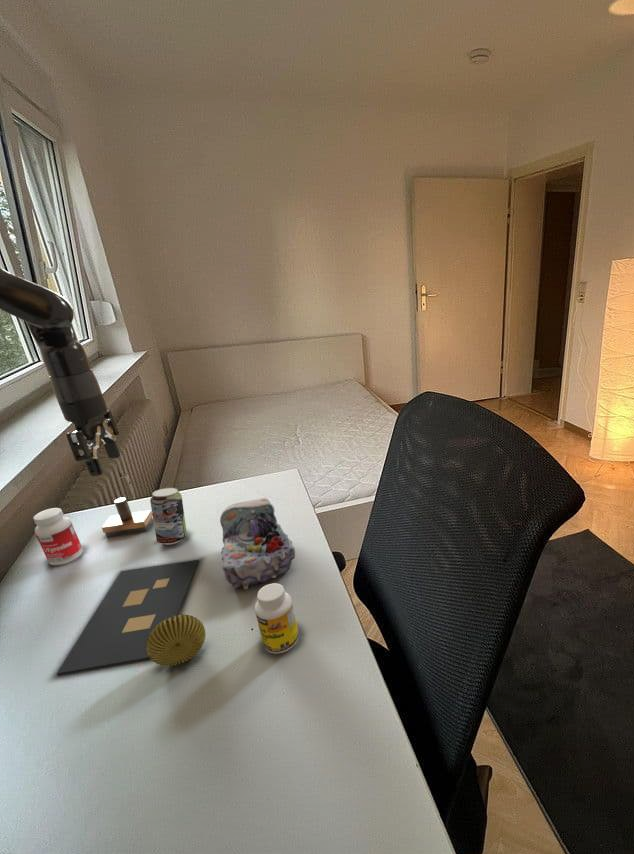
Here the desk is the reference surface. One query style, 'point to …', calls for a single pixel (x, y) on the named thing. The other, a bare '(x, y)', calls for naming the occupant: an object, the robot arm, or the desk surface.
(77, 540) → the pill bottle
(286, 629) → the supplement bottle
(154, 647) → the sculpture
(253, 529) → the cell model
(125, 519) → the brush
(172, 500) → the beverage can
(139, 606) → the mat
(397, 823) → the desk surface
